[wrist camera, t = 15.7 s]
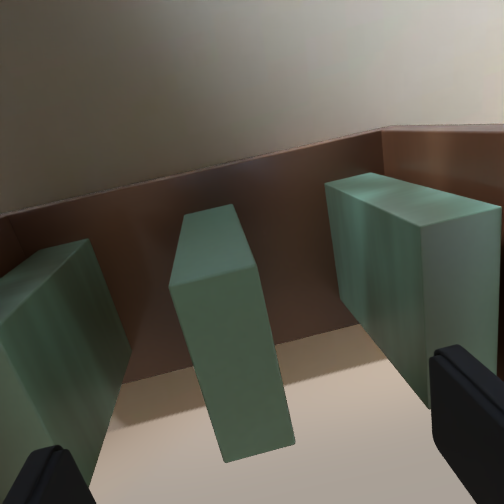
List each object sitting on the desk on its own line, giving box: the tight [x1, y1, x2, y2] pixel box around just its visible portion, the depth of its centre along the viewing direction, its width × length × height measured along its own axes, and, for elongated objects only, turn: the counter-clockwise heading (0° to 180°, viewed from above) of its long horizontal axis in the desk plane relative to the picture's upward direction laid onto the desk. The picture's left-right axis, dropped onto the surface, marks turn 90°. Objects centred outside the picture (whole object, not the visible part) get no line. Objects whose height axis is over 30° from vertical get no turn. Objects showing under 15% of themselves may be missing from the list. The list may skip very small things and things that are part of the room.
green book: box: [168, 204, 295, 463], centre depth 16 cm, size 3×7×9 cm, turn 12°
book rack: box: [0, 124, 504, 504], centre depth 16 cm, size 21×11×11 cm, turn 102°
